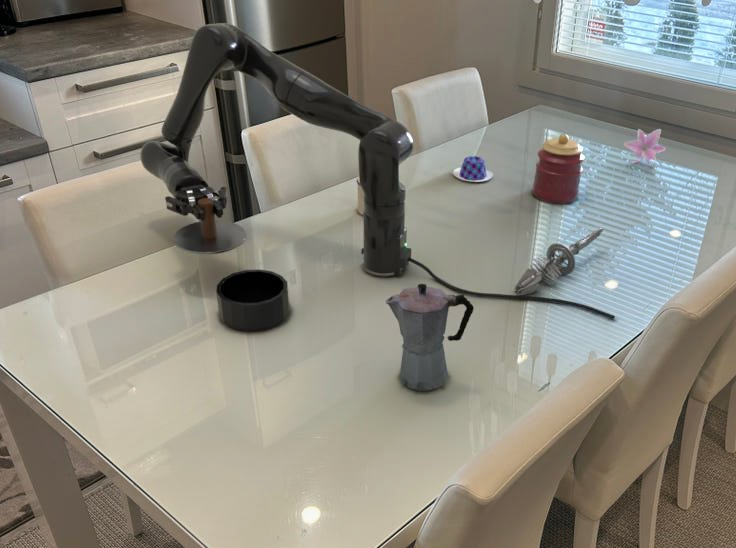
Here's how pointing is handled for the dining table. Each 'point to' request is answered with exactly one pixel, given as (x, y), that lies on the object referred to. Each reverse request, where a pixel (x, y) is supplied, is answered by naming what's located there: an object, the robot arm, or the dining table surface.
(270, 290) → the pan
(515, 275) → the dining table surface
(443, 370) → the moka pot
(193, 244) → the lid
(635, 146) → the lily
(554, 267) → the spaceship
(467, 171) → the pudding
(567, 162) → the kitchen canister
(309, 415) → the dining table surface
